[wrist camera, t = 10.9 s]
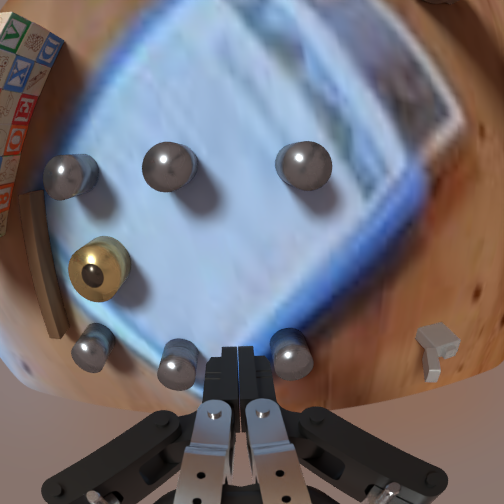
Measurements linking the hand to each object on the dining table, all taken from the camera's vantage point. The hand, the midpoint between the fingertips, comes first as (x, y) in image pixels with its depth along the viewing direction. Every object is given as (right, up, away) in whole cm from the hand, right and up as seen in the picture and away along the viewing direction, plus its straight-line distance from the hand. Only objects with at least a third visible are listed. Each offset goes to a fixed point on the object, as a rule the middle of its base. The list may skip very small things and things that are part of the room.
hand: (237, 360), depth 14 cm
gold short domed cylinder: (-13, +4, +12) cm, 18 cm away
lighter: (+21, -5, +18) cm, 28 cm away
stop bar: (-20, +4, +11) cm, 23 cm away
